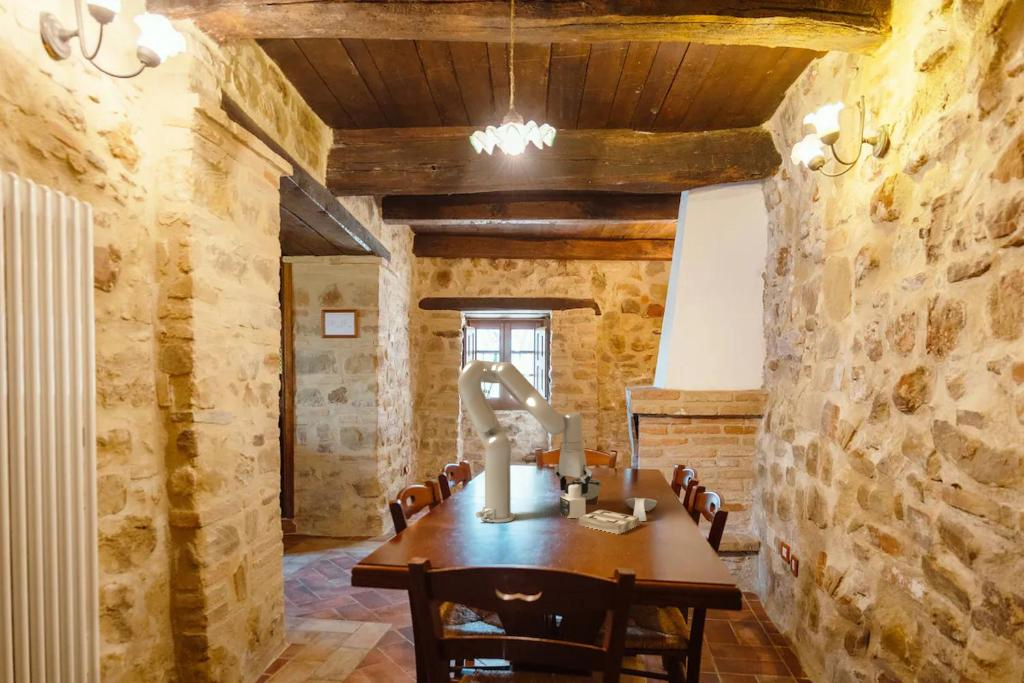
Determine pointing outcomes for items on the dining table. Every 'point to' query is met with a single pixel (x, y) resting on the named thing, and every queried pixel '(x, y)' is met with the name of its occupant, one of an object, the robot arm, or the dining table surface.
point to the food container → (590, 491)
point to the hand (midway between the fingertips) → (574, 491)
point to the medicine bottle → (572, 502)
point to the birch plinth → (609, 521)
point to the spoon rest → (641, 506)
